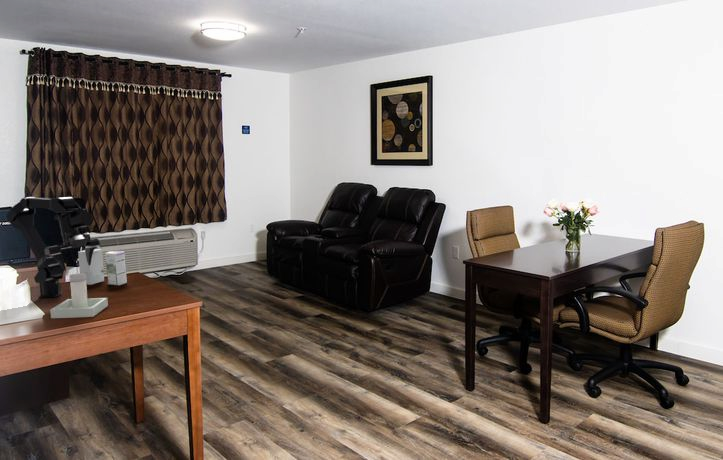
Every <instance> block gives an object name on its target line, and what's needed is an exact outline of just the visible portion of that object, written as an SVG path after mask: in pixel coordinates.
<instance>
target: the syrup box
mask: <svg viewBox="0 0 723 460" xmlns="http://www.w3.org/2000/svg"><path fill="white" fill-rule="evenodd" d="M125 255H126V254H125V251H124V250H123V251H121V250H110V251H107V252H105V263H106V275H107V279H106V280H107V285H112V286H121V285H125V284H127V282H128V280H127V269H126V256H125Z"/></svg>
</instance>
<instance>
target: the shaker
mask: <svg viewBox="0 0 723 460" xmlns="http://www.w3.org/2000/svg"><path fill="white" fill-rule="evenodd" d="M69 282H70V283H69V285H70V295H71V299H72V308H88V299H87V298H88V289H87V288H88V287H87V285H86V274H83V273H80V272H79V273H74V274H70V275H69Z"/></svg>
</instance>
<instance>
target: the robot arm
mask: <svg viewBox="0 0 723 460" xmlns="http://www.w3.org/2000/svg"><path fill="white" fill-rule="evenodd" d="M36 208H37V209H48V210H50V211H52V212H55V213H56V215H55V216H54V218H53V219H54V220H58V223H59V227H60V236H61V237H62V241H63V243H62V245H61V246H60V245H53V246H52V245H51V246H46V244H45V243H44V241H43V239H42V238H41V236H40V235H39V233H38V231H37V229H36V228H35V226H34V225H35V218H34V215H35V214H36V213H37V211H36V210H37V209H36ZM6 220H7V222H9V224H10V225H11V227H12V228H14V229H16V230H17V231H19V232H20V233H21V235H22V236H23V238H24V239H25V241H26V244H27V245H28V247H29V248H30V250H31V252H32V253H33V254H34V257H35V258H36V260H37V267H36V268H37V273H36V274H35V275H34V278H33V279H34V282H35V283H37V284H39V292H40V294H39V295H38V298H40V299H41V298H56V297H58V296H60V295H61V294H63V292H62V286H61V282H60V280H62V279H63V277H64V273H65V272H66V271H67V268H66V264H65V261H64V257H63V256H64V255H63V253H62V252H63V251H68V250H74V249H79V248H84V250H85V253H86V258H87V263H88V265H91V259H92V254H93V251H94V249H97V248H98V246H101V241H100V239H99V238H91V235H90V233H89V232H85V233H82V234H81V232H80V230H79V228H85V227H90V226H92V225H93V223H94V216H93V215H92V214H91V212H90V211H88V208H82V207H81V206H80V205H79V204H78V203H77V202H76V201H75V199H74V197H72V196H63V197H54V198H46V197H35V196H27V197H23V198H21V199H20V200H19V201H18V203H16V204H14V205H13V206H12V207H11V208H10V209H9V211H8V212H7V214H6Z"/></svg>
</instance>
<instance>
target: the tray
mask: <svg viewBox="0 0 723 460" xmlns="http://www.w3.org/2000/svg"><path fill="white" fill-rule="evenodd" d="M87 299H88V308H72V298H67V299H66V300H64V301H63V302H61V303H59V304H57V305H56V306H54V307H52V308H51V309H50V310H49V311H50V312H49V313H50V319H69V318H70V319H73V318H93V317H95V316H96V315H98V314H99V313H100V312H102V311H103V310H104V309H106V308H107V307H109V302H108V301H109V300H108V297H95V298H93V297H91V298H90V297H89V298H88V297H87Z"/></svg>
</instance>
